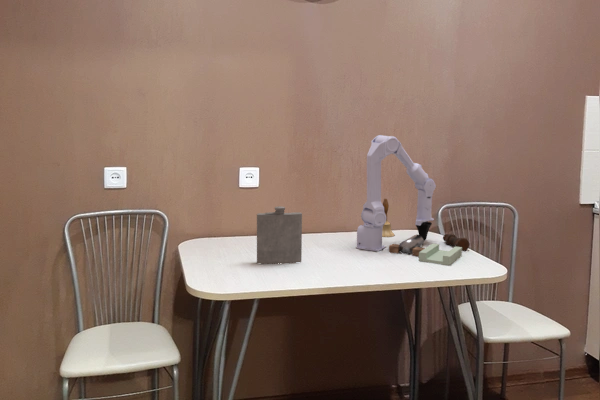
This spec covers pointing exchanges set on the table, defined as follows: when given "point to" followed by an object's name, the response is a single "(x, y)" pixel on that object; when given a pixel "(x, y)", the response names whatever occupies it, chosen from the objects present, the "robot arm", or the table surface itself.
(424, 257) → the pale green channelled slab
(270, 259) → the hip flask
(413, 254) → the bearing block
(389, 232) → the hand bell
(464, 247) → the bolt
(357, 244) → the robot arm
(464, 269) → the table surface
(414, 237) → the axle
